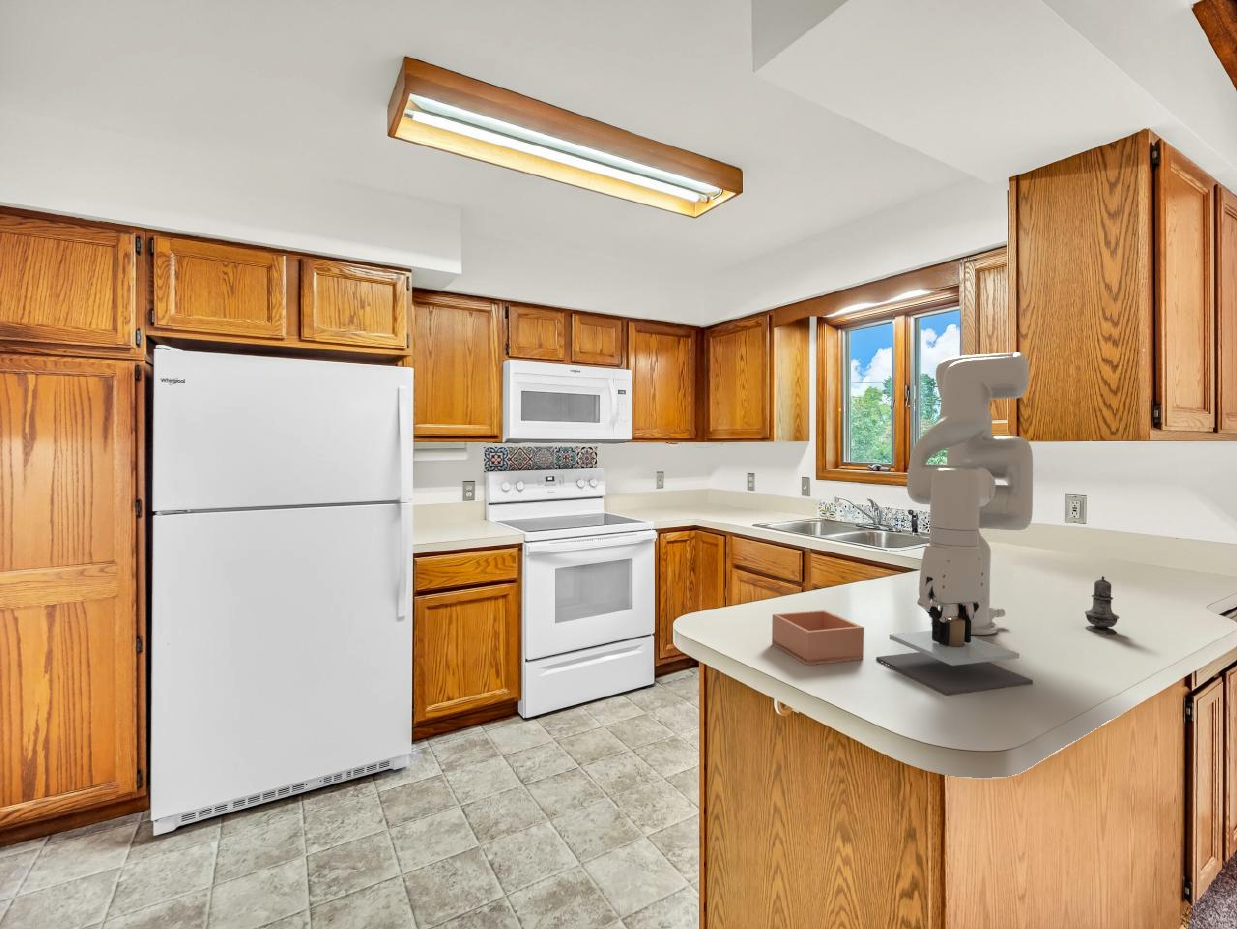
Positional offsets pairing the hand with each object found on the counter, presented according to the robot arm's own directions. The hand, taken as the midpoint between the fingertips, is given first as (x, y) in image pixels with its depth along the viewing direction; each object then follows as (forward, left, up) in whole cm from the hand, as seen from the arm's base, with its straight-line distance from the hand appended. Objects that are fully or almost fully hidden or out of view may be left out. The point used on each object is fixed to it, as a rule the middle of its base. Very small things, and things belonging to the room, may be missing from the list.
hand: (951, 640), depth 103 cm
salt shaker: (-51, -10, -6) cm, 52 cm away
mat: (0, 0, -5) cm, 5 cm away
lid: (0, 0, -1) cm, 1 cm away
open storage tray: (+17, -15, -5) cm, 23 cm away
